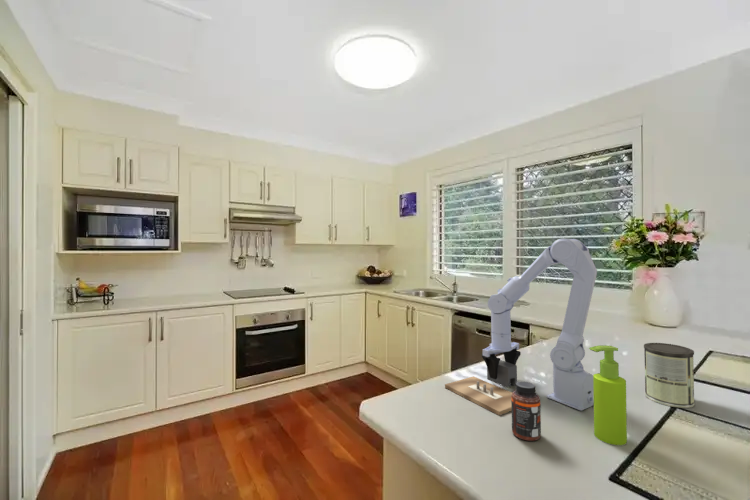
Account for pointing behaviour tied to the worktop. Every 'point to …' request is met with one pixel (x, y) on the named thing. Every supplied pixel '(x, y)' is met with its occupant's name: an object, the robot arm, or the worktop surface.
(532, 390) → the supplement bottle
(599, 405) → the soap dispenser
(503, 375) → the block
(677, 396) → the coffee can
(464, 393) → the pin board
